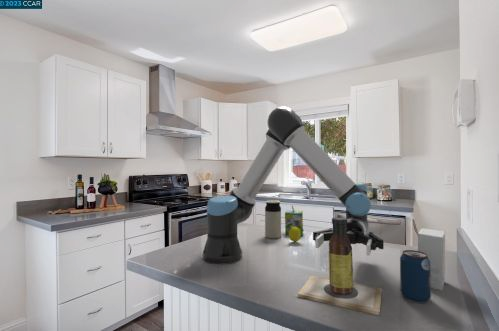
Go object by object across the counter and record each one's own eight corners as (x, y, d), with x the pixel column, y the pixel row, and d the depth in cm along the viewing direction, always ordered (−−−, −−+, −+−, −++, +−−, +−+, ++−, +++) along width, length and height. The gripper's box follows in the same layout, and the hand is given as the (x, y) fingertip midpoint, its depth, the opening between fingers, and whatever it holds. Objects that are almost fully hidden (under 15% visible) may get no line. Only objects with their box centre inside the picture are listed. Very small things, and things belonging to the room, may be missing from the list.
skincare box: (420, 276, 87) (420, 227, 87) (446, 281, 83) (445, 230, 83) (416, 285, 81) (416, 232, 81) (444, 291, 76) (443, 236, 77)
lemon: (285, 243, 126) (285, 221, 126) (290, 240, 131) (290, 219, 131) (298, 245, 122) (298, 223, 122) (303, 242, 127) (303, 220, 127)
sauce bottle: (357, 294, 72) (357, 220, 73) (335, 296, 71) (335, 221, 71) (345, 284, 79) (344, 216, 79) (324, 286, 78) (324, 216, 78)
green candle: (303, 236, 139) (302, 207, 139) (284, 235, 140) (284, 206, 140) (303, 231, 148) (303, 204, 148) (286, 231, 149) (286, 204, 150)
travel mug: (276, 239, 131) (276, 202, 131) (262, 237, 136) (262, 201, 136) (283, 236, 138) (283, 200, 138) (269, 234, 142) (269, 199, 142)
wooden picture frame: (297, 296, 74) (297, 292, 74) (311, 278, 86) (311, 274, 86) (379, 315, 64) (379, 311, 64) (381, 291, 76) (381, 288, 76)
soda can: (437, 304, 70) (436, 257, 70) (411, 305, 69) (411, 257, 69) (418, 291, 76) (417, 248, 77) (394, 292, 76) (394, 249, 76)
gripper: (393, 246, 88) (392, 268, 69) (316, 237, 100) (298, 253, 81) (393, 223, 88) (392, 238, 69) (316, 216, 100) (297, 228, 81)
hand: (341, 246), depth 75 cm, fingers open, 13 cm apart
